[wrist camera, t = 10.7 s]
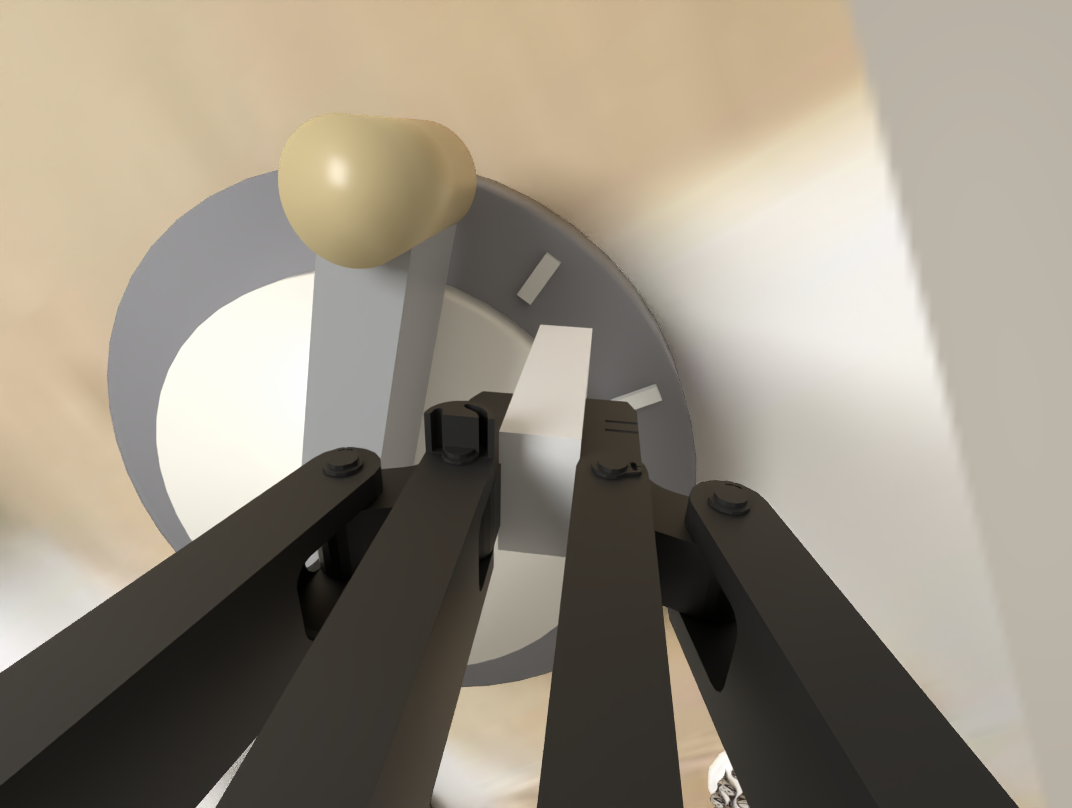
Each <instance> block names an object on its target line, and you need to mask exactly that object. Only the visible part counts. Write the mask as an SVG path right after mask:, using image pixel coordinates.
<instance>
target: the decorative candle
mask: <svg viewBox="0 0 1072 808" xmlns="http://www.w3.org/2000/svg"><path fill="white" fill-rule="evenodd" d="M708 789H709V791H710V793H711V794H712V795H711V796H710V800H711V802H712V803H713V804H714V805H715V807H714V808H749V806H748V804H747V801H746V799H745V796H744V794H743V792H742V789H741V787H740V785H739V782H738V780H737V778H736V775H735V773H734V770H733V768H732V766H731V763H730V761H729V759H728V756H727V754H726V752H725V750H724V751H723V752H721V753H719V755H718V756H717V757H716V759H715V760H714V761H713V763H712V764H711V765H710V767H709V769H708Z"/></svg>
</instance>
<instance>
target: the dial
mask: <svg viewBox="0 0 1072 808" xmlns="http://www.w3.org/2000/svg"><path fill="white" fill-rule="evenodd" d="M278 188H279V195H280V199H281V203H282V206H283V209H284V212H285V214H286V217H287V219H288V221H289V223H290V225H291V226H292V228H293V229H294V231H295V232H296V234H297V235H298V236H299V237H300V239H301V240H302V241H303V242H304V243H305V244H306V245H307V246H308V247H309V248H310V249H311V250H312V251H314V252H315V253H316V261H315V270H314V271H309V272H304V273H299V274H295V275H292V276H289V277H287V278H284V279H281V280H279V281H276V282H273V283H271V284H268V285H266V286H263V287H261V288H259V289H256V290H254V291H252V292H249V293H247V294H245V295H243V296H241V297H239V298H238V299H236V300H234V301H232V302H231V303H229V304H227V305H225V306H224V307H222V308H220V309H219V310H218V311H216V312H215V313H214V314H213V315H212V316H210V317H209V318H208V319H207V320H206V321H204V322H203V323H202V324H201V325H200V326H198V328H197V329H196V330H195V331H194V332H193V334H192V335H191V336H190V337H189V338H188V340H187V341H186V342H185V343H184V344H183V346H182V347H181V348H180V350H179V352H178V354H177V356H176V357H175V359H174V361H173V363H172V364H171V366H170V368H169V370H168V373H167V376H166V379H165V382H164V384H163V387H162V390H161V393H160V399H159V405H158V411H157V418H156V444H157V450H158V457H159V464H160V469H161V473H162V476H163V480H164V483H165V487H166V490H167V493H168V495H169V498H170V500H171V502H172V505H173V507H174V509H175V512H176V514H177V516H178V518H179V520H180V521H181V523H182V525H183V527H184V528H185V530H186V532H187V534H188V535H189V537H190V539H191V540H192V541H193V540H195V539H196V538H198V537H199V536H201V535H202V534H203V533H205V532H206V531H208V530H209V529H211V528H212V527H214V526H215V525H217V524H218V523H219V522H221V521H222V520H224V519H225V518H227V517H228V516H230V515H231V514H233V513H234V512H235V511H237V510H238V509H240V508H241V507H243V506H244V505H246V504H247V503H249V502H250V501H251V500H253V499H254V498H256V497H257V496H259V495H260V494H262V493H263V492H265V491H266V490H267V489H269V488H270V487H272V486H273V485H275V484H276V483H278V482H279V481H281V480H282V479H284V478H285V477H286V476H288V475H289V474H291V473H292V472H294V471H295V470H297V469H298V468H300V467H301V466H302V465H304V464H305V463H307V462H308V461H310V460H311V459H313V458H314V457H316V456H318V455H320V454H322V453H324V452H327V451H331V450H334V449H337V448H342V447H345V448H347V447H356V448H364V449H368V450H370V451H373V452H375V453H376V454H377V455H378V456H379V457H380V459H381V468H382V469H388V468H399V467H407V466H414V465H417V464H419V462H420V461H421V459H422V457H423V456H424V454H425V452H426V446H425V428H424V412H425V411H426V410H428V409H429V408H430V407H432V406H434V405H437V404H440V403H444V402H449V401H469V400H470V399H471V398H472V397H474V396H476V395H477V394H479V393H481V392H482V391H488V392H500V393H512V394H514V392H515V389H516V386H517V384H518V381H519V379H520V376H521V373H522V371H523V368H524V366H525V363H526V361H527V358H528V355H529V353H530V350H531V348H532V345H533V342H534V340H535V339H534V338H533V337H532V336H531V335H530V334H528V333H527V332H526V331H525V330H524V329H523V328H521V327H520V326H519V325H518V324H517V323H516V322H514V321H513V320H511V319H510V318H508V317H507V316H505V315H504V314H502V313H501V312H499V311H497V310H496V309H494V308H493V307H491V306H490V305H488V304H487V303H485V302H483V301H481V300H479V299H477V298H475V297H473V296H471V295H469V294H467V293H465V292H463V291H461V290H459V289H457V288H455V287H452V286H449V285H446V281H447V276H448V270H449V264H450V259H451V253H452V248H453V242H454V237H455V231H456V225H457V223H458V222H459V221H460V220H461V219H462V218H463V217H464V216H465V215H466V213H467V212H468V210H469V209H470V207H471V205H472V202H473V200H474V196H475V192H476V170H475V166H474V162H473V159H472V157H471V154H470V152H469V150H468V149H467V147H466V146H465V144H464V143H463V141H462V140H461V139H460V138H459V137H458V136H457V135H456V134H455V133H454V132H453V131H451V130H450V129H448V128H447V127H445V126H443V125H441V124H439V123H436V122H433V121H428V120H416V119H404V118H392V117H380V116H368V115H356V114H343V113H332V114H325V115H321V116H317V117H315V118H313V119H311V120H309V121H307V122H306V123H304V124H303V125H301V126H300V127H299V128H298V129H297V130H296V131H295V132H294V133H293V134H292V136H291V137H290V138H289V140H288V142H287V143H286V145H285V147H284V150H283V152H282V155H281V159H280V163H279V170H278ZM318 558H319V557H318V551H316V552H315V553H314V554H313V555H312V556H310V558H309V559H308V560H307V561H306V563H305V565H306V567H309V566H310V565H312V564H313V563H314V562H315V561H316V560H317V559H318ZM565 558H566V557H558V556H549V555H541V554H532V553H523V552H514V551H505V550H498V534H497V538H496V541H495V545H494V568H493V572H492V575H491V579H490V583H489V586H488V590H487V594H486V597H485V601H484V605H483V608H482V612H481V616H480V620H479V623H478V627H477V631H476V634H475V638H474V642H473V645H472V649H471V653H470V656H469V660H468V664H467V665H471V664H477V663H481V662H485V661H488V660H492V659H496V658H499V657H502V656H505V655H507V654H510V653H512V652H515V651H517V650H520V649H522V648H524V647H525V646H527V645H529V644H531V643H533V642H535V641H536V640H538V639H540V638H541V637H543V636H544V635H545V634H547V633H548V632H549V631H551V630H552V629H553V628H555V627H556V626H557V625H558V620H559V611H560V602H561V593H562V585H563V576H564V567H565Z"/></svg>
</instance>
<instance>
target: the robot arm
mask: <svg viewBox="0 0 1072 808" xmlns="http://www.w3.org/2000/svg"><path fill="white" fill-rule="evenodd" d="M592 329H593V328H580V327H566V326H553V325H540V327H539V329H538V332H537V335H536V337H535V340H534V342H533V345H532V348H531V350H530V353H529V355H528V358H527V361H526V363H525V366H524V368H523V371H522V373H521V376H520V379H519V381H518V384H517V386H516V389H515V392H514V394H512V393H500V392H488V391H482V392H481V393H479V394H477V395H476V396H474V397H472V398H471V399H470V400H469V401H449V402H444V403H440V404H437V405H434V406H432V407H430V408H429V409H428V410H426V411H425V412H424V428H425V446H426V452H425V454H424V456H423V457H422V459H421V461H420V462H419V464H417V465H414V466H407V467H399V468H388V469H382V468H381V459H380V457H379V456H378V455H377V454H376V453H375V452H373V451H370V450H368V449H364V448H356V447H347V448H345V447H342V448H337V449H334V450H331V451H327V452H324V453H322V454H320V455H318V456H316V457H314V458H313V459H311V460H310V461H308V462H307V463H305V464H304V465H302V466H301V467H300V468H298V469H297V470H295V471H294V472H292V473H291V474H289V475H288V476H286V477H285V478H284V479H282V480H281V481H279V482H278V483H276V484H275V485H273V486H272V487H270V488H269V489H267V490H266V491H265V492H263V493H262V494H260V495H259V496H257V497H256V498H254V499H253V500H251V501H250V502H249V503H247V504H246V505H244V506H243V507H241V508H240V509H238V510H237V511H235V512H234V513H233V514H231V515H230V516H228V517H227V518H225V519H224V520H222V521H221V522H219V523H218V524H217V525H215V526H214V527H212V528H211V529H209V530H208V531H206V532H205V533H203V534H202V535H201V536H199V537H198V538H196V539H195V540H193V541H192V542H190V543H189V544H187V545H186V546H185V547H183V548H182V549H180V550H179V551H177V552H176V553H174V554H173V555H171V556H170V557H169V558H167V559H166V560H164V561H163V562H161V563H160V564H158V565H157V566H155V567H154V568H153V569H151V570H150V571H148V572H147V573H145V574H144V575H142V576H141V577H139V578H138V579H137V580H135V581H134V582H132V583H131V584H129V585H128V586H126V587H125V588H123V589H122V590H121V591H119V592H118V593H116V594H115V595H113V596H112V597H110V598H109V599H107V600H106V601H104V602H103V603H102V604H100V605H99V606H97V607H96V608H94V609H93V610H91V611H90V612H88V613H87V614H86V615H84V616H83V617H81V618H80V619H78V620H77V621H75V622H74V623H72V624H71V625H70V626H68V627H67V628H65V629H64V630H62V631H61V632H59V633H58V634H56V635H55V636H54V637H52V638H51V639H49V640H48V641H46V642H45V643H43V644H42V645H40V646H39V647H38V648H36V649H35V650H33V651H32V652H30V653H29V654H27V655H26V656H24V657H23V658H22V659H20V660H19V661H17V662H16V663H14V664H13V665H11V666H10V667H8V668H7V669H6V670H4V671H3V672H1V673H0V808H196V807H197V805H198V804H199V803H200V802H201V801H202V800H203V798H204V797H205V796H206V795H207V794H208V793H209V791H210V790H211V789H212V788H213V787H214V786H215V785H216V783H217V782H218V781H219V780H220V779H221V778H222V776H223V775H224V774H225V773H226V772H227V771H228V769H229V768H230V767H231V766H232V765H233V764H234V763H235V761H236V760H237V759H238V758H239V757H240V756H241V754H242V753H243V752H244V751H245V750H246V749H247V747H248V746H249V745H250V744H251V743H252V742H253V741H254V739H255V738H256V737H257V736H258V737H257V738H256V740H255V742H254V743H253V745H252V747H251V748H250V750H249V752H248V754H247V755H246V757H245V759H244V760H243V762H242V764H241V765H240V767H239V769H238V771H237V772H236V774H235V776H234V777H233V779H232V781H231V782H230V784H229V786H228V787H227V789H226V791H225V793H224V794H223V796H222V798H221V799H220V801H219V803H218V804H217V806H216V808H432V807H431V805H430V800H431V796H432V792H433V789H434V785H435V781H436V778H437V774H438V770H439V767H440V763H441V759H442V756H443V752H444V748H445V745H446V741H447V737H448V734H449V730H450V726H451V722H452V719H453V715H454V711H455V708H456V704H457V700H458V697H459V693H460V689H461V686H462V682H463V678H464V675H465V671H466V667H467V664H468V660H469V656H470V653H471V649H472V645H473V642H474V638H475V634H476V631H477V627H478V623H479V620H480V616H481V612H482V608H483V605H484V601H485V597H486V594H487V590H488V586H489V583H490V579H491V575H492V572H493V568H494V545H495V541H496V538H497V534H498V550H505V551H514V552H523V553H532V554H541V555H549V556H558V557H566V558H565V567H564V576H563V585H562V593H561V602H560V611H559V620H558V628H557V637H556V646H555V655H554V663H553V672H552V681H551V689H550V698H549V707H548V716H547V724H546V733H545V742H544V751H543V759H542V768H541V777H540V786H539V794H538V803H537V808H683V799H682V789H681V780H680V770H679V760H678V751H677V741H676V732H675V722H674V713H673V703H672V694H671V684H670V675H669V665H668V656H667V646H666V637H665V627H664V618H663V608H662V605H663V606H665V607H668V613H669V619H670V622H671V624H672V626H673V629H674V631H675V633H676V636H677V638H678V640H679V643H680V645H681V648H682V650H683V652H684V655H685V657H686V659H687V662H688V664H689V666H690V669H691V671H692V674H693V676H694V678H695V681H696V683H697V685H698V688H699V690H700V692H701V695H702V697H703V700H704V702H705V704H706V707H707V709H708V711H709V714H710V716H711V718H712V721H713V723H714V726H715V728H716V730H717V733H718V735H719V737H720V740H721V742H722V744H723V747H724V749H725V752H726V754H727V756H728V759H729V761H730V763H731V766H732V768H733V770H734V773H735V775H736V778H737V780H738V782H739V785H740V787H741V789H742V792H743V794H744V796H745V799H746V801H747V804H748V806H749V808H1019V807H1018V806H1017V805H1016V803H1015V802H1014V801H1013V800H1012V799H1011V797H1010V796H1009V795H1008V794H1007V792H1006V791H1005V790H1004V789H1003V788H1002V786H1001V785H1000V784H999V783H998V782H997V780H996V779H995V778H994V777H993V775H992V774H991V773H990V772H989V771H988V769H987V768H986V767H985V766H984V765H983V763H982V762H981V761H980V760H979V758H978V757H977V756H976V755H975V754H974V752H973V751H972V750H971V749H970V748H969V746H968V745H967V744H966V743H965V741H964V740H963V739H962V738H961V737H960V735H959V734H958V733H957V732H956V731H955V729H954V728H953V727H952V726H951V724H950V723H949V722H948V721H947V720H946V718H945V717H944V716H943V715H942V714H941V712H940V711H939V710H938V709H937V707H936V706H935V705H934V704H933V703H932V701H931V700H930V699H929V698H928V697H927V695H926V694H925V693H924V692H923V690H922V689H921V688H920V687H919V686H918V684H917V683H916V682H915V681H914V680H913V678H912V677H911V676H910V675H909V673H908V672H907V671H906V670H905V669H904V667H903V666H902V665H901V664H900V663H899V661H898V660H897V659H896V658H895V656H894V655H893V654H892V653H891V652H890V650H889V649H888V648H887V647H886V646H885V644H884V643H883V642H882V641H881V639H880V638H879V637H878V636H877V635H876V633H875V632H874V631H873V630H872V629H871V627H870V626H869V625H868V624H867V622H866V621H865V620H864V619H863V618H862V616H861V615H860V614H859V613H858V612H857V610H856V609H855V608H854V607H853V605H852V604H851V603H850V602H849V601H848V599H847V598H846V597H845V596H844V595H843V593H842V592H841V591H840V590H839V588H838V587H837V586H836V585H835V584H834V582H833V581H832V580H831V579H830V578H829V576H828V575H827V574H826V573H825V571H824V570H823V569H822V568H821V567H820V565H819V564H818V563H817V562H816V561H815V559H814V558H813V557H812V556H811V554H810V553H809V552H808V551H807V550H806V548H805V547H804V546H803V545H802V544H801V542H800V541H799V540H798V539H797V537H796V536H795V535H794V534H793V533H792V531H791V530H790V529H789V528H788V527H787V525H786V524H785V523H784V522H783V520H782V519H781V518H780V517H779V516H778V514H777V513H776V512H775V511H774V510H773V508H772V507H771V506H770V505H769V503H768V502H767V501H766V500H765V499H764V498H763V497H761V496H760V495H759V494H758V493H757V492H755V491H753V490H751V489H749V488H747V487H745V486H743V485H741V484H738V483H733V482H729V481H716V480H713V481H707V482H701V483H699V484H698V485H696V486H694V487H693V488H692V490H691V492H690V494H689V496H686V495H682V494H679V493H675V492H672V491H670V490H667V489H664V488H662V487H661V486H659V485H657V484H655V483H654V482H653V481H651V480H650V479H649V475H648V471H647V469H646V467H645V465H644V464H643V463H642V462H641V451H640V440H639V430H638V419H637V412H636V411H635V409H634V408H633V407H632V406H631V405H630V404H629V403H628V402H624V401H613V400H601V399H589V398H587V388H588V376H589V364H590V352H591V340H592ZM316 551H318V557H319V558H318V559H317V560H316V561H315V562H314V563H313V564H312V565H310V566H309V567H306V565H305V563H306V561H307V560H308V559H309V558H310V556H312V555H313V554H314V553H315V552H316Z"/></svg>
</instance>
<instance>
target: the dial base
mask: <svg viewBox="0 0 1072 808" xmlns="http://www.w3.org/2000/svg"><path fill="white" fill-rule="evenodd" d="M315 261H316V253H315V252H314V251H312V250H311V249H310V248H309V247H308V246H307V245H306V244H305V243H304V242H303V241H302V240H301V239H300V237H299V236H298V235H297V234H296V232H295V231H294V229H293V228H292V226H291V225H290V223H289V221H288V219H287V217H286V214H285V212H284V209H283V206H282V203H281V199H280V195H279V188H278V170H276V171H273V172H269V173H266V174H262V175H258V176H255V177H251V178H248V179H245V180H243V181H241V182H239V183H237V184H235V185H233V186H231V187H229V188H226V189H224V190H222V191H220V192H218V193H216V194H214V195H212V196H210V197H208V198H207V199H205V200H204V201H203V202H201V203H200V204H198V205H197V206H196V207H194V208H193V209H191V210H190V211H189V212H187V213H186V214H184V215H183V216H182V217H180V218H179V219H177V220H176V222H175V223H174V224H173V225H172V226H171V227H170V228H169V229H168V230H167V231H166V232H165V233H164V234H163V235H162V236H161V237H160V238H159V239H158V240H157V241H156V242H155V243H154V244H153V245H152V246H151V248H150V249H149V251H148V252H147V254H146V255H145V257H144V258H143V260H142V261H141V263H140V264H139V266H138V267H137V269H136V270H135V272H134V273H133V275H132V277H131V279H130V281H129V283H128V286H127V288H126V290H125V293H124V295H123V297H122V300H121V302H120V304H119V307H118V309H117V314H116V318H115V322H114V326H113V330H112V334H111V338H110V344H109V357H108V370H107V380H108V394H109V408H110V413H111V418H112V423H113V427H114V432H115V437H116V441H117V444H118V447H119V450H120V453H121V456H122V459H123V462H124V465H125V467H126V470H127V473H128V475H129V477H130V479H131V481H132V483H133V485H134V488H135V490H136V492H137V494H138V496H139V498H140V500H141V502H142V504H143V505H144V507H145V509H146V510H147V512H148V513H149V515H150V517H151V518H152V520H153V521H154V523H155V525H156V526H157V528H158V529H159V531H160V532H161V534H162V535H163V536H164V538H165V539H166V540H167V541H168V543H169V544H170V545H171V547H172V548H173V549H174V550H175V552H177V551H179V550H180V549H182V548H183V547H185V546H186V545H187V544H189V543H190V542H192V540H191V539H190V537H189V535H188V534H187V532H186V530H185V528H184V527H183V525H182V523H181V521H180V520H179V518H178V516H177V514H176V512H175V509H174V507H173V505H172V502H171V500H170V498H169V495H168V493H167V490H166V487H165V483H164V480H163V476H162V473H161V469H160V464H159V457H158V450H157V444H156V418H157V411H158V405H159V399H160V393H161V390H162V387H163V384H164V382H165V379H166V376H167V373H168V370H169V368H170V366H171V364H172V363H173V361H174V359H175V357H176V356H177V354H178V352H179V350H180V348H181V347H182V346H183V344H184V343H185V342H186V341H187V340H188V338H189V337H190V336H191V335H192V334H193V332H194V331H195V330H196V329H197V328H198V326H200V325H201V324H202V323H203V322H204V321H206V320H207V319H208V318H209V317H210V316H212V315H213V314H214V313H215V312H216V311H218V310H219V309H220V308H222V307H224V306H225V305H227V304H229V303H231V302H232V301H234V300H236V299H238V298H239V297H241V296H243V295H245V294H247V293H249V292H252V291H254V290H256V289H259V288H261V287H263V286H266V285H268V284H271V283H273V282H276V281H279V280H281V279H284V278H287V277H289V276H292V275H295V274H299V273H304V272H309V271H314V270H315ZM446 285H449V286H452V287H455V288H457V289H459V290H461V291H463V292H465V293H467V294H469V295H471V296H473V297H475V298H477V299H479V300H481V301H483V302H485V303H487V304H488V305H490V306H491V307H493V308H494V309H496V310H497V311H499V312H501V313H502V314H504V315H505V316H507V317H508V318H510V319H511V320H513V321H514V322H516V323H517V324H518V325H519V326H520V327H521V328H523V329H524V330H525V331H526V332H527V333H528V334H530V335H531V336H532V337H533V338H534V339H535V337H536V335H537V332H538V329H539V327H540V325H553V326H566V327H580V328H593V329H592V340H591V352H590V364H589V376H588V388H587V398H589V399H601V400H613V401H624V402H628V403H629V404H630V405H631V406H632V407H633V408H634V409H635V411H636V412H637V419H638V430H639V440H640V451H641V462H642V463H643V464H644V465H645V467H646V469H647V471H648V475H649V479H650V480H651V481H653V482H654V483H655V484H657V485H659V486H661V487H662V488H664V489H667V490H670V491H672V492H675V493H679V494H682V495H686V496H689V494H690V492H691V490H692V488H693V487H694V486H696V455H695V448H694V441H693V434H692V427H691V421H690V417H689V413H688V409H687V405H686V402H685V398H684V394H683V390H682V387H681V384H680V380H679V377H678V374H677V370H676V367H675V364H674V360H673V357H672V354H671V352H670V350H669V348H668V345H667V343H666V341H665V339H664V337H663V335H662V333H661V330H660V328H659V326H658V324H657V322H656V320H655V318H654V317H653V315H652V314H651V312H650V311H649V309H648V307H647V306H646V304H645V303H644V301H643V300H642V298H641V297H640V295H639V294H638V292H637V291H636V289H635V287H634V286H633V285H632V284H631V283H630V281H629V280H628V279H627V278H626V277H625V276H624V274H623V273H622V272H621V271H620V270H619V269H618V268H617V266H616V265H615V264H614V263H613V262H612V261H611V259H610V258H609V257H608V256H607V255H606V254H605V253H604V252H603V251H602V250H601V249H599V248H598V247H597V246H596V245H595V244H594V243H593V242H592V241H590V240H589V239H588V238H587V237H586V236H585V235H584V234H582V233H581V232H580V231H579V230H578V229H577V228H576V227H574V226H573V225H572V224H570V223H569V222H567V221H566V220H564V219H563V218H561V217H560V216H558V215H557V214H555V213H554V212H552V211H551V210H549V209H548V208H546V207H545V206H543V205H542V204H540V203H539V202H537V201H536V200H533V199H531V198H529V197H527V196H525V195H523V194H521V193H519V192H517V191H515V190H513V189H511V188H509V187H507V186H505V185H503V184H501V183H499V182H497V181H494V180H491V179H488V178H484V177H481V176H478V175H476V192H475V196H474V200H473V202H472V205H471V207H470V209H469V210H468V212H467V213H466V215H465V216H464V217H463V218H462V219H461V220H460V221H459V222H458V223H457V225H456V231H455V237H454V242H453V248H452V253H451V259H450V264H449V270H448V276H447V281H446ZM557 628H558V625H557V626H556V627H555V628H553V629H552V630H551V631H549V632H548V633H547V634H545V635H544V636H543V637H541V638H540V639H538V640H536V641H535V642H533V643H531V644H529V645H527V646H525V647H524V648H522V649H520V650H517V651H515V652H512V653H510V654H507V655H505V656H502V657H499V658H496V659H492V660H488V661H485V662H481V663H477V664H471V665H467V667H466V671H465V675H464V678H463V682H462V686H461V687H472V686H489V685H496V684H502V683H508V682H515V681H520V680H524V679H527V678H531V677H535V676H539V675H542V674H546V673H549V672H551V671H553V663H554V655H555V646H556V637H557Z"/></svg>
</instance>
